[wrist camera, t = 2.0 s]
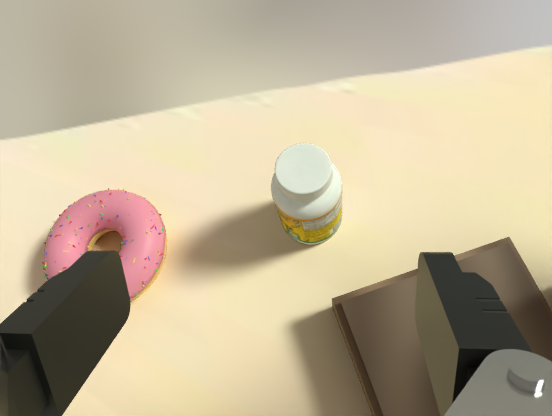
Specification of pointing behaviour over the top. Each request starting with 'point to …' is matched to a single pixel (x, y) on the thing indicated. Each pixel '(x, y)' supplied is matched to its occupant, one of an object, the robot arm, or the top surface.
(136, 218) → the doughnut
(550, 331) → the display podium
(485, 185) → the top surface
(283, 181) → the supplement bottle
